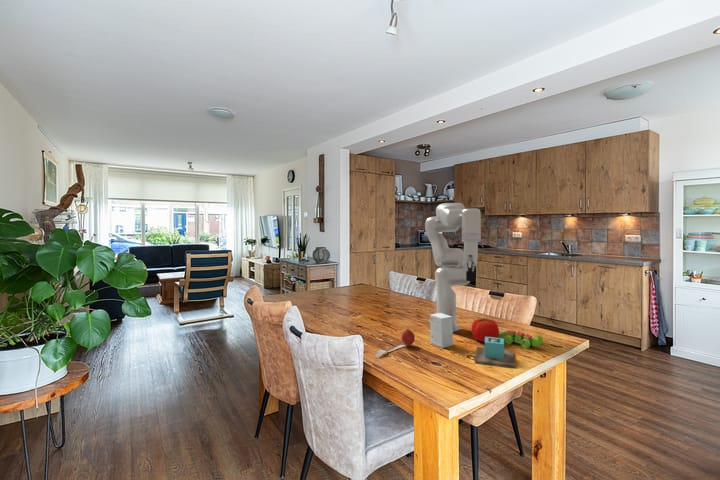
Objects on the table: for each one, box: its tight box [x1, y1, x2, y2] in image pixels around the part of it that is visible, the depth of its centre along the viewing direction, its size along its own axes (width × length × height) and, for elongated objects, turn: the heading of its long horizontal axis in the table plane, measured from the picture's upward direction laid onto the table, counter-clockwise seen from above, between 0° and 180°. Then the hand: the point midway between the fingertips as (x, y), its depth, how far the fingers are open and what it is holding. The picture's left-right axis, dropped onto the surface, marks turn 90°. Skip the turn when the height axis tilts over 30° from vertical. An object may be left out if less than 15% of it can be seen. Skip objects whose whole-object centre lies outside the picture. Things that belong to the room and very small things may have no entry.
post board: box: [474, 339, 516, 369], centre depth 137 cm, size 14×16×7 cm
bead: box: [484, 337, 505, 359], centre depth 137 cm, size 7×7×6 cm
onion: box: [400, 328, 416, 347], centre depth 152 cm, size 6×6×8 cm
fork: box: [373, 344, 406, 360], centre depth 146 cm, size 3×21×3 cm, turn 138°
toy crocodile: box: [498, 329, 544, 349], centre depth 152 cm, size 20×7×6 cm, turn 41°
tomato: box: [470, 316, 500, 343], centre depth 157 cm, size 12×12×10 cm
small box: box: [429, 312, 454, 349], centre depth 153 cm, size 8×6×13 cm
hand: (471, 279), depth 144 cm, fingers open, 9 cm apart
